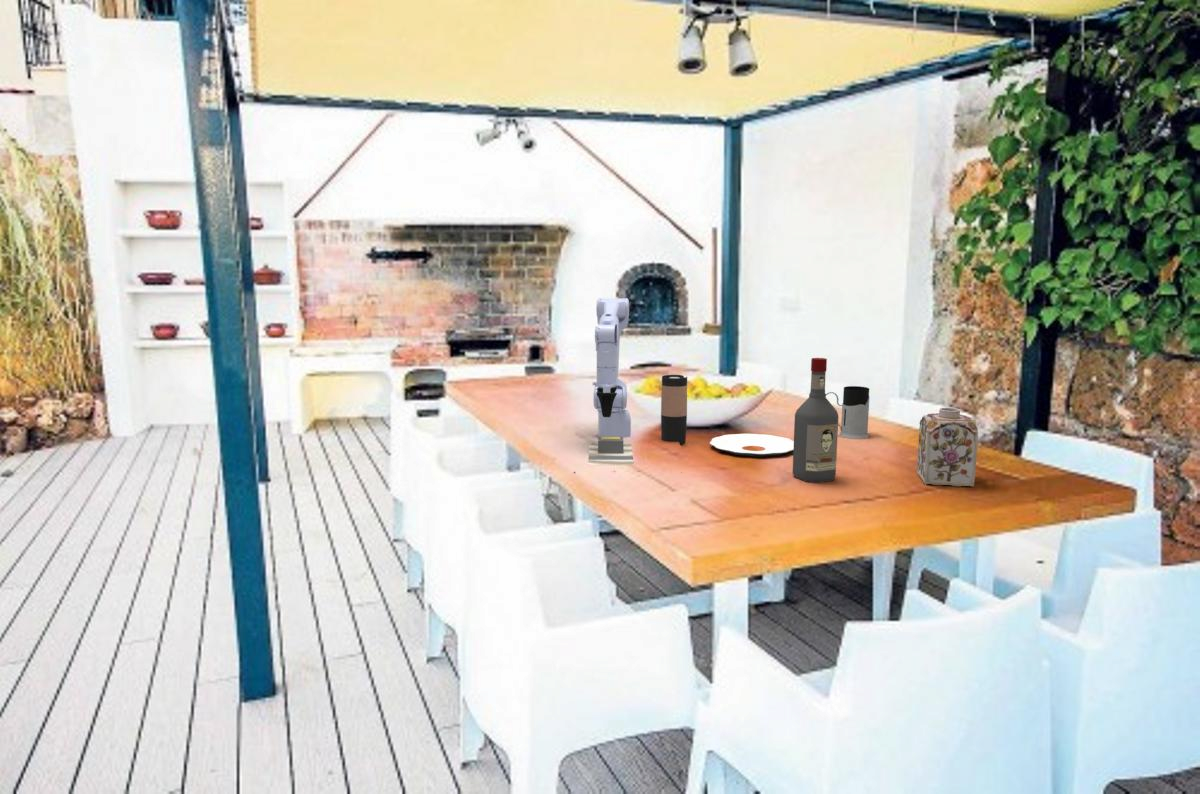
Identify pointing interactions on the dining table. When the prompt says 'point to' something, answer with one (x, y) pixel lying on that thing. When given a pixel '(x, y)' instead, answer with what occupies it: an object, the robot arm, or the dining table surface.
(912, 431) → the dining table surface
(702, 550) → the dining table surface
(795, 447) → the liquor
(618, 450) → the block
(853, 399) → the glass holder
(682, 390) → the travel mug
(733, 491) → the dining table surface
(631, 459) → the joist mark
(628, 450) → the subfloor plank
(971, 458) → the decorative jar
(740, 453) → the plate
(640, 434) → the dining table surface
